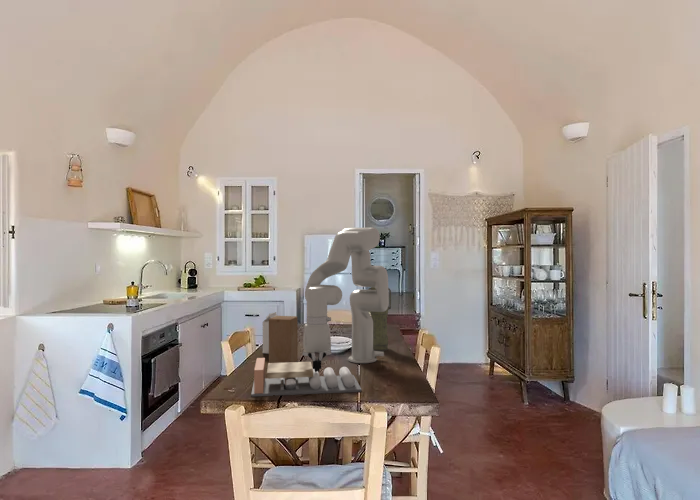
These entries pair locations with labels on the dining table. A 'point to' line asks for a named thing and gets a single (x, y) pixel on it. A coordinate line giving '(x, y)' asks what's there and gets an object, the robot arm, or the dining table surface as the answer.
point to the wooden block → (283, 339)
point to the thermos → (380, 327)
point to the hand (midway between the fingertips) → (317, 370)
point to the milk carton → (267, 332)
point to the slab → (289, 370)
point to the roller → (290, 383)
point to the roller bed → (304, 382)
